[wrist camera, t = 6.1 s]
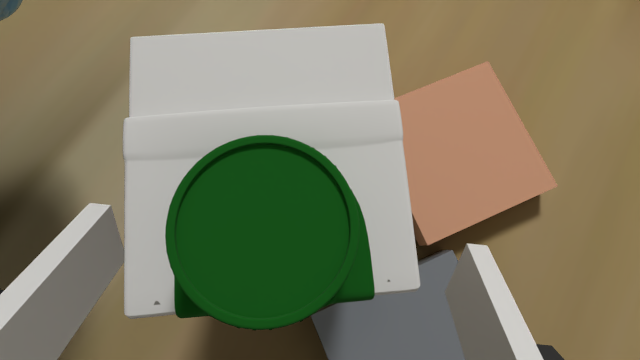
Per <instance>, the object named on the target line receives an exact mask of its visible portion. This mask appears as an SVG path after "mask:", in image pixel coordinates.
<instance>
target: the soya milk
mask: <svg viewBox="0 0 640 360" xmlns="http://www.w3.org/2000/svg"><path fill="white" fill-rule="evenodd" d="M123 157H124V160H125V194H124V314H125V315H126V316H127V317H128V318H130V319H135V318H145V317H155V316H164V315H173V314H176V315H177V316H178V317H179V318H190V317H201V316H211V317H213V318H215V319H217V320H219V321H221V322H223V323H226V324H229V325H232V326H235V327H237V328H245V329H253V330H264V329H269V330H272V329H274V328H280V327H284V326H288V325H291V324H294V323H296V322H299V321H300V322H301V321H303V319H305V318H307V317H309V316H310V315H312V314H315V313H317V311H318V310H319V309H321V308H323V307H325V306H328V305H330V304H335V303H346V302H356V301H366V300H372V299H373V298H374V295H383V294H395V293H406V292H415V291H417V290H418V288H419V287H420V276H419V268H418V260H417V252H416V244H415V235H414V227H413V219H412V211H411V203H410V195H409V187H408V179H407V170H406V162H405V155H404V147H403V127H402V119H401V112H400V106H399V102H398V101H397V100H394V93H393V86H392V78H391V71H390V63H389V56H388V48H387V41H386V34H385V27H384V24H363V25H344V26H326V27H307V28H289V29H270V30H252V31H233V32H215V33H196V34H178V35H159V36H141V37H131V39H130V92H129V118H125V119H124V124H123Z"/></svg>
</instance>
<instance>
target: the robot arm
mask: <svg viewBox="0 0 640 360" xmlns="http://www.w3.org/2000/svg"><path fill="white" fill-rule="evenodd" d="M21 3H22V0H0V21H1V20H3V19H5V18H7V17H9V16H10V15H12V14H13V13H14V12H15V11H16V10H17V9H18V8H19V6H20V5H21ZM123 263H124V249H123V245H122V242H121V238H120V235H119V232H118V228H117V225H116V221H115V218H114V214H113V211H112V207H111V205H105V204H95V203H89V204H88V205H87V206H86V207H85V208H84V209H83V210H82V211H81V212H80V213H79V214H78V215H77V216H76V217H75V218H74V220H73V221H72V222H71V223H70V224H69V225H68V226H67V227H66V228H65V229H64V230H63V231H62V232H61V233H60V234H59V235H58V236H57V237H56V238H55V239H54V240H53V241H52V242H51V243H50V244H49V245H48V246H47V247H46V248H45V249H44V250H43V251H42V252H41V253H40V254H39V255H38V256H37V257H36V258H35V259H34V261H33V262H32V263H31V264H30V265H29V266H28V267H27V268H26V269H25V270H24V271H23V272H22V273H21V274H20V275H19V276H18V277H17V278H16V279H15V280H14V281H13V282H12V283H11V284H10V285H9V286H8V287H7V288H6V289H5V290H0V360H57V359H58V358H59V356H60V355H61V353H62V352H63V350H64V349H65V347H66V346H67V344H68V343H69V342H70V340H71V339H72V337H73V336H74V334H75V333H76V331H77V330H78V328H79V327H80V325H81V324H82V323H83V321H84V320H85V318H86V317H87V315H88V314H89V312H90V311H91V309H92V308H93V306H94V305H95V304H96V302H97V301H98V299H99V298H100V296H101V295H102V293H103V292H104V290H105V289H106V287H107V286H108V285H109V283H110V282H111V280H112V279H113V277H114V276H115V274H116V273H117V271H118V270H119V268H120V267H121V266H122V264H123ZM445 294H446V298H447V301H448V304H449V307H450V311H451V314H452V317H453V321H454V324H455V327H456V330H457V334H458V337H459V340H460V344H461V347H462V350H463V353H464V357H465V360H564V359H563V358H562V357H561V355H560V354H559V353H558V352H557V351H556V350H555V349H554V348H553V347H552V346H549V345H539V344H536V343H535V341H534V339H533V337H532V335H531V333H530V331H529V329H528V327H527V325H526V323H525V321H524V319H523V317H522V315H521V313H520V311H519V309H518V307H517V305H516V303H515V301H514V299H513V297H512V295H511V293H510V291H509V289H508V287H507V285H506V283H505V281H504V279H503V277H502V274H501V272H500V270H499V268H498V266H497V264H496V262H495V260H494V258H493V256H492V254H491V252H490V250H489V248H488V246H487V245H477V244H468V243H467V244H466V246H465V248H464V251H463V253H462V255H461V257H460V259H459V262H458V264H457V266H456V268H455V270H454V273H453V275H452V277H451V279H450V281H449V284H448V286H447V288H446V290H445Z"/></svg>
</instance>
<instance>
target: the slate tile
mask: <svg viewBox="0 0 640 360" xmlns="http://www.w3.org/2000/svg"><path fill="white" fill-rule="evenodd" d="M457 264H458V260H457V258H456V256H455V254H454V252H453V250H441V251H439V252H437V253H434V254H432V255H430V256H428V257H426V258H423V259H421V260H419V261H418V268H419V276H420V287H419V288H418V290H417V291H415V292H406V293H395V294H383V295H374V298H373V299H372V300H366V301H356V302H346V303H335V304H330V305H328V306H325V307H323V308H321V309H319V310H318V311H317V313H315V314H312V315H311V318H312V320H313V323H314V325H315V328H316V330H317V333H318V335H319V337H320V340H321V342H322V345H323V347H324V350H325V352H326V355H327V357H328V360H465V357H464V353H463V350H462V347H461V344H460V340H459V337H458V334H457V330H456V327H455V324H454V321H453V317H452V314H451V311H450V307H449V304H448V301H447V298H446V294H445V290H446V288H447V286H448V284H449V281H450V279H451V277H452V275H453V273H454V270H455V268H456V266H457Z"/></svg>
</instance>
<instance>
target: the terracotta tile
mask: <svg viewBox="0 0 640 360" xmlns="http://www.w3.org/2000/svg"><path fill="white" fill-rule="evenodd" d="M394 100H397V101H398V102H399V106H400V112H401V119H402V127H403V147H404V155H405V162H406V170H407V179H408V187H409V195H410V203H411V211H412V219H413V227H414V235H415V238H416V240H417V243H418V245H419V246H425V245H430V244H432V243H434V242H436V241H439V240H441V239H443V238H445V237H447V236H450V235H452V234H454V233H456V232H458V231H460V230H463V229H465V228H467V227H469V226H471V225H474V224H476V223H478V222H480V221H482V220H485V219H487V218H489V217H491V216H493V215H496V214H498V213H500V212H502V211H504V210H506V209H509V208H511V207H513V206H515V205H517V204H520V203H522V202H524V201H526V200H528V199H531V198H533V197H535V196H537V195H539V194H542V193H544V192H546V191H548V190H550V189H552V188H555V187H557V184H556V182H555V180H554V178H553V177H552V175H551V173H550V171H549V169H548V168H547V166H546V164H545V162H544V160H543V159H542V157H541V155H540V153H539V151H538V150H537V148H536V146H535V144H534V143H533V141H532V139H531V137H530V135H529V134H528V132H527V130H526V128H525V126H524V125H523V123H522V121H521V119H520V117H519V116H518V114H517V112H516V110H515V108H514V107H513V105H512V103H511V101H510V100H509V98H508V96H507V94H506V92H505V91H504V89H503V87H502V85H501V83H500V82H499V80H498V78H497V76H496V74H495V73H494V71H493V69H492V67H491V65H490V64H489V62H488V61H487V62H485V63H482V64H480V65H477V66H475V67H472V68H470V69H467V70H465V71H462V72H460V73H457V74H455V75H452V76H450V77H447V78H445V79H442V80H440V81H437V82H435V83H432V84H430V85H427V86H425V87H422V88H420V89H417V90H415V91H412V92H409V93H407V94H404V95H402V96H399V97H397V98H394Z"/></svg>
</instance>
